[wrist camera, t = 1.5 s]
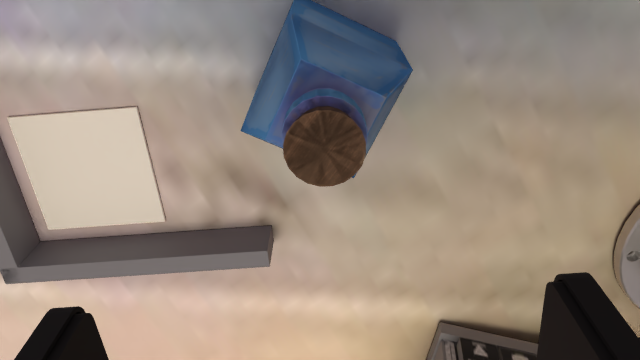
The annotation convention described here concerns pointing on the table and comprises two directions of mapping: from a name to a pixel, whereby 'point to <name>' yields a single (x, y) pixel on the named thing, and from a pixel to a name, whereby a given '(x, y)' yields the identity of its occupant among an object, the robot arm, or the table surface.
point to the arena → (102, 205)
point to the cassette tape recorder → (477, 345)
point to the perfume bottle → (326, 93)
